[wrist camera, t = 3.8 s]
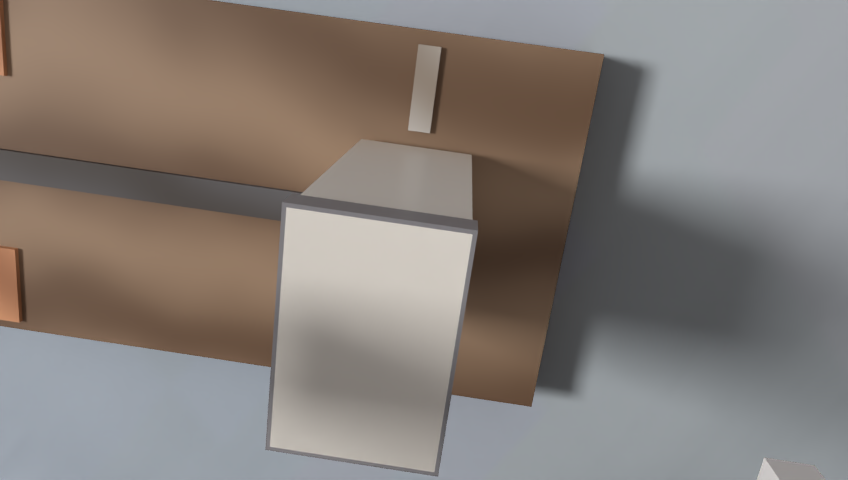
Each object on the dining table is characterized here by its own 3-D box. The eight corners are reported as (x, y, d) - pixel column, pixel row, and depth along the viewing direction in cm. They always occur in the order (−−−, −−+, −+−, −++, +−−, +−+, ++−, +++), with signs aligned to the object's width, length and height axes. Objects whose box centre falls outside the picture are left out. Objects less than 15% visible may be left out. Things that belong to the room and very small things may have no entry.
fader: (450, 310, 25) (437, 476, 16) (343, 294, 25) (265, 449, 16) (474, 152, 23) (478, 230, 14) (358, 136, 23) (281, 201, 14)
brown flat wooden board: (527, 382, 29) (531, 409, 26) (-177, 275, 29) (-226, 293, 27) (593, 53, 24) (605, 54, 22) (-230, -60, 25) (-293, -70, 23)
